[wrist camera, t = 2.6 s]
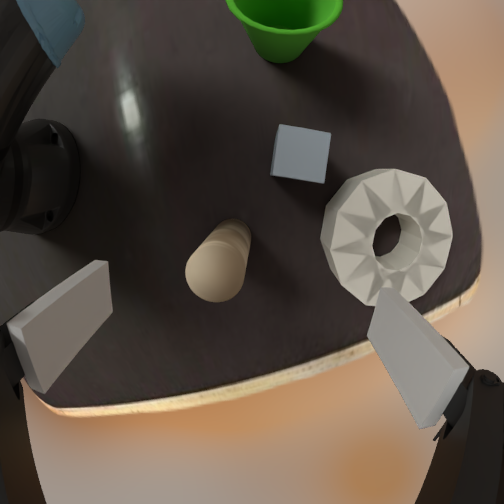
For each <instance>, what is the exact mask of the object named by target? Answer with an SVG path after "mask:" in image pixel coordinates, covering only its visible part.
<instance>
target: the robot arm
mask: <svg viewBox="0 0 504 504" xmlns="http://www.w3.org/2000/svg"><path fill="white" fill-rule="evenodd" d="M84 24H85V16H84V13H83V10H82V9H81V7H80V6H79V4H78V3H77V2H76V1H75V0H0V232H1V231H4V230H5V231H11V232H18V233H24V234H40V233H43V232H46V231H49V230H52V229H54V228H55V227H57V226H58V225H60V224H61V223H62V222H63V221H64V219H65V218H66V217H67V215H68V214H69V212H70V210H71V208H72V206H73V204H74V201H75V199H76V195H77V191H78V187H79V179H80V161H79V154H78V150H77V146H76V143H75V141H74V139H73V137H72V135H71V133H70V132H69V131H68V129H67V128H66V127H65V126H63V125H62V124H61V123H59V122H56V121H52V120H46V119H34V120H31V121H28V122H25V123H22V122H23V120H24V118H25V116H26V114H27V112H28V111H29V109H30V107H31V105H32V104H33V102H34V100H35V99H36V97H37V95H38V94H39V92H40V91H41V89H42V87H43V86H44V84H45V83H46V81H47V80H48V78H49V77H50V75H51V74H52V72H53V71H54V70H55V68H56V67H57V68H58V67H59V66H60V65H61V60H62V59H63V57H64V56H65V54H66V53H67V51H68V50H69V48H70V47H71V46H72V44H73V43H74V42H75V40H76V39H77V38H78V36H79V35H80V33H81V32H82V30H83V27H84ZM112 312H113V309H112V300H111V290H110V279H109V266H108V261H101V260H94V261H93V262H91V263H90V264H88V265H87V266H85V267H84V268H82V269H81V270H79V271H78V272H76V273H75V274H73V275H72V276H70V277H69V278H67V279H66V280H64V281H63V282H62V283H60V284H59V285H57V286H56V287H54V288H53V289H52V290H50V291H49V292H47V293H46V294H45V295H43V296H42V297H40V298H39V299H38V300H36V301H34V302H32V303H30V304H29V305H28V306H26V307H25V309H22V310H21V311H20V312H19V313H17V314H16V315H14V316H13V317H12V318H10V319H9V320H8V321H7V322H5V323H4V324H3V325H1V326H0V504H46V501H45V498H44V495H43V491H42V489H41V485H40V481H39V478H38V474H37V470H36V466H35V463H34V458H33V454H32V449H31V444H30V439H29V433H28V427H27V420H26V413H25V405H24V395H23V387H22V384H21V382H20V380H21V379H22V378H23V377H24V375H25V377H26V380H27V382H28V384H29V387H30V388H32V389H34V390H36V391H39V392H41V393H43V394H45V393H46V391H47V390H48V389H49V388H50V386H51V385H52V384H53V383H54V381H55V380H56V379H57V377H58V376H59V375H60V374H61V372H62V371H63V370H64V369H65V368H66V366H67V365H68V364H69V363H70V361H71V360H72V359H73V358H74V357H75V355H76V354H77V353H78V352H79V351H80V349H81V348H82V347H83V346H84V345H85V343H86V342H87V341H88V340H89V339H90V338H91V336H92V335H93V334H94V333H95V332H96V331H97V329H98V328H99V327H100V326H101V325H102V324H103V323H104V321H105V320H106V319H107V318H108V317H109V316H110V315H111V314H112ZM367 337H368V339H369V340H370V342H371V344H372V345H373V347H374V349H375V350H376V352H377V354H378V355H379V357H380V359H381V361H382V362H383V364H384V366H385V368H386V369H387V371H388V373H389V375H390V376H391V378H392V380H393V382H394V383H395V385H396V387H397V389H398V390H399V392H400V394H401V396H402V398H403V400H404V401H405V403H406V405H407V407H408V409H409V410H410V412H411V414H412V416H413V418H414V420H415V422H416V423H417V426H418V427H419V429H422V428H427V427H431V426H435V425H436V423H437V422H438V420H439V419H440V417H441V416H442V414H444V416H445V418H446V419H447V420H446V422H445V423H444V425H443V426H442V428H441V429H440V430H439V432H438V433H437V435H436V436H435V437H434V439H433V441H436V439H437V438H438V437H439V440H438V443H437V447H436V450H435V453H434V456H433V459H432V462H431V465H430V467H429V470H428V473H427V475H426V478H425V481H424V483H423V486H422V488H421V491H420V493H419V495H418V498H417V500H416V502H415V504H504V383H502V382H501V380H500V378H499V377H498V376H497V375H496V374H494V373H493V372H490V371H489V370H484V369H482V370H477V371H476V369H474V367H473V366H472V365H471V364H470V363H469V362H468V361H467V360H466V359H465V357H464V356H463V355H462V354H460V352H459V351H458V350H457V349H456V348H455V347H454V346H453V344H452V343H451V342H450V341H449V340H448V339H446V338H444V337H443V336H441V335H440V334H439V333H438V332H437V331H436V330H435V329H434V328H433V327H432V325H431V324H430V323H429V322H428V321H427V320H426V319H425V318H424V317H423V316H422V315H421V314H420V313H419V312H418V311H417V310H416V309H415V308H414V307H413V306H412V305H411V304H410V303H409V302H408V301H407V300H406V299H405V298H404V297H403V296H402V295H401V294H400V293H399V292H397V291H396V290H395V289H394V288H388V287H380V291H379V295H378V299H377V302H376V306H375V310H374V313H373V317H372V320H371V324H370V327H369V330H368V333H367Z"/></svg>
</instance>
